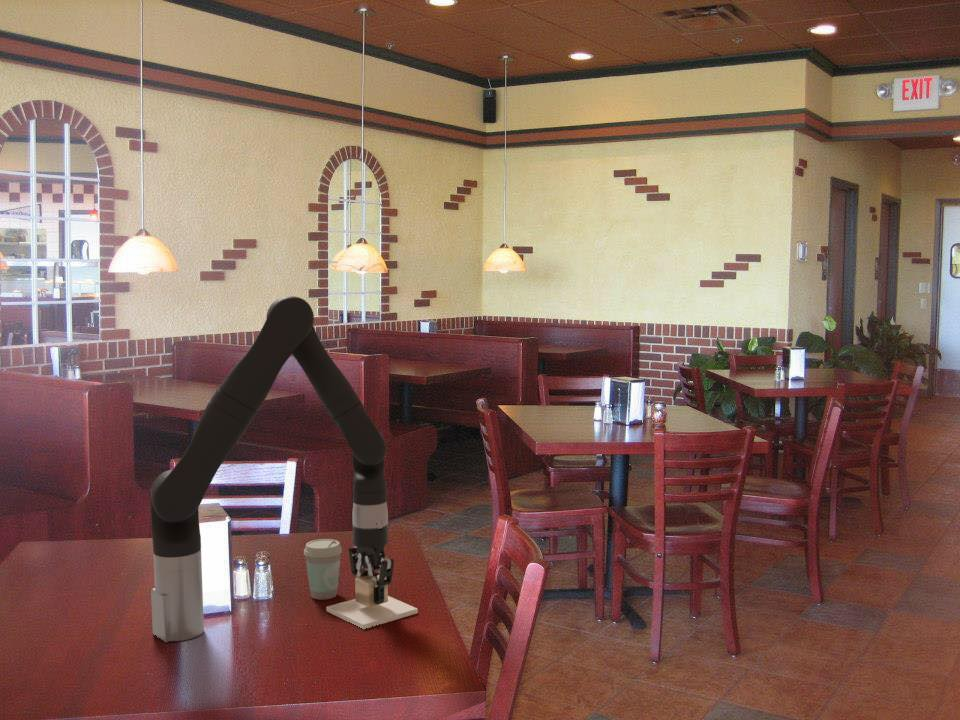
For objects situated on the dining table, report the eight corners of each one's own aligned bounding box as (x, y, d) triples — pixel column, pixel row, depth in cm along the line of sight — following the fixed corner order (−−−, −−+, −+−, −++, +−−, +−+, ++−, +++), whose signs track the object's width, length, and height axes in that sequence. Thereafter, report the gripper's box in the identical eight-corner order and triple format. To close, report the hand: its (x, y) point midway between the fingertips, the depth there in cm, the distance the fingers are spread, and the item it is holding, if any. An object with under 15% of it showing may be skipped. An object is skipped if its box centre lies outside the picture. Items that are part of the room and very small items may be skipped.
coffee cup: (323, 604, 217) (322, 551, 215) (296, 596, 222) (295, 544, 220) (350, 594, 223) (349, 542, 222) (324, 586, 228) (323, 536, 227)
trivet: (363, 629, 202) (363, 624, 202) (326, 611, 212) (326, 606, 212) (417, 613, 211) (417, 608, 211) (379, 596, 222) (379, 592, 222)
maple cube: (368, 607, 208) (368, 584, 208) (355, 601, 212) (355, 578, 211) (388, 601, 211) (387, 579, 211) (374, 595, 215) (374, 573, 215)
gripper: (336, 518, 213) (338, 595, 214) (375, 532, 202) (376, 612, 204) (365, 512, 218) (367, 587, 219) (404, 525, 207) (405, 604, 209)
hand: (371, 599), depth 212 cm, fingers closed on maple cube, 5 cm apart
